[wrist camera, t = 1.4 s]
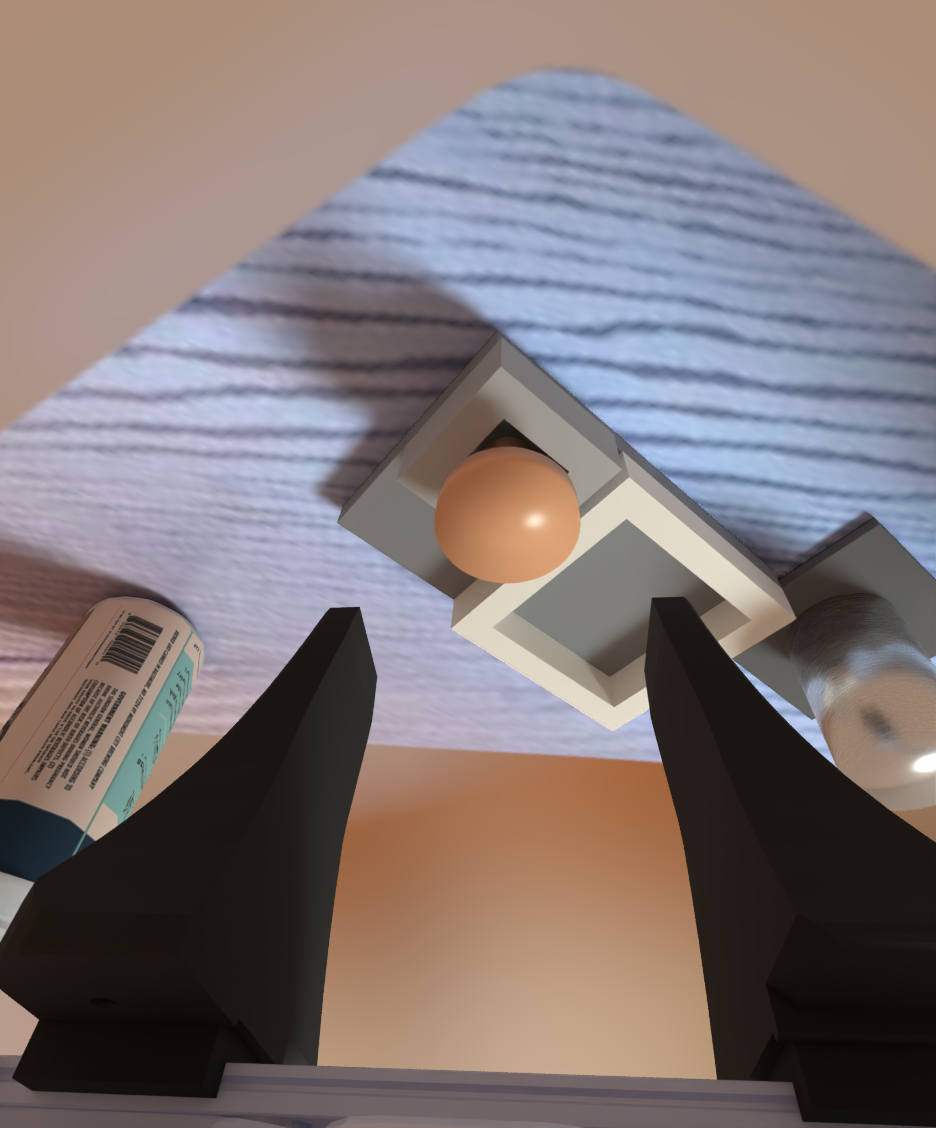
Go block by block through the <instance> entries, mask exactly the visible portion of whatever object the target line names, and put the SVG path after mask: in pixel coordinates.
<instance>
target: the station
mask: <svg viewBox="0 0 936 1128" xmlns="http://www.w3.org/2000/svg"><path fill="white" fill-rule="evenodd" d="M502 437H514V438H518V439H520V440H522V441H524V442H526V443H527V444H528V445H529V446H530V447H531V448H532V450H533V451H535V452H538V453H540V454H543V455H544V456H546V457H548V458H550V459H551V460H553V461H554V462H556V463H557V464H558V465H559V466H560V467H561V468H562V469H563V470H564V471H565V472H566V473H567V475H568V476H569V477H570V479H571V481H572V483H573V485H574V487H575V490H576V493H577V498H578V505H579V512H580V523H581V526H580V534H579V537H578V541H577V543H576V545H575V548H574V549H573V551H572V552H571V554H570V555H569V556H568V558H567V559H566V560H565V561H564V562H563V563H562V564H561V565H560V566H558V567H557V568H556V569H554V570H553V571H551V572H550V573H548V574H546V575H544V576H542V577H539V578H537V579H534V580H530V581H526V582H521V583H494V582H489V581H484V580H481V579H478V578H475V577H473V576H471V575H469V574H467V573H465V572H464V571H462V570H460V569H459V568H458V567H456V566H455V565H454V564H453V563H452V562H451V561H450V560H449V559H448V558H447V557H446V555H445V554H444V553H443V551H442V550H441V548H440V546H439V544H438V541H437V539H436V535H435V530H434V518H435V510H436V504H437V498H438V494H439V490H440V488H441V485H442V483H443V481H444V479H445V478H446V476H447V475H448V474H449V472H450V471H451V470H452V469H453V468H454V467H455V466H456V465H457V464H458V463H460V462H461V461H462V460H464V459H465V458H467V457H469V456H471V455H473V454H475V453H477V452H480V451H483V449H484V448H485V447H486V446H487V445H488V444H489V443H490V442H492V441H493V440H496V439H498V438H502ZM337 523H338V524H340V525H341V526H343V527H344V528H346V529H347V530H349V531H350V532H352V533H353V534H355V535H356V536H358V537H359V538H361V539H362V540H364V541H365V542H367V543H368V544H370V545H371V546H373V547H375V548H376V549H378V550H379V551H381V552H382V553H384V554H385V555H387V556H388V557H390V558H391V559H393V560H394V561H396V562H397V563H399V564H400V565H402V566H403V567H405V568H406V569H408V570H409V571H411V572H413V573H414V574H416V575H417V576H419V577H420V578H422V579H423V580H425V581H426V582H428V583H429V584H431V585H432V586H434V587H435V588H437V589H438V590H440V591H441V592H443V593H444V594H446V595H448V596H449V597H451V598H452V599H454V604H453V614H452V623H451V629H452V630H454V631H455V632H457V633H458V634H460V635H461V636H463V637H465V638H466V639H468V640H469V641H471V642H472V643H474V644H476V645H477V646H479V647H480V648H482V649H483V650H485V651H487V652H488V653H490V654H491V655H493V656H495V657H496V658H498V659H499V660H501V661H502V662H504V663H506V664H507V665H509V666H510V667H512V668H513V669H515V670H517V671H518V672H520V673H521V674H523V675H524V676H526V677H528V678H529V679H531V680H532V681H534V682H535V683H537V684H539V685H540V686H542V687H543V688H545V689H546V690H548V691H550V692H551V693H553V694H554V695H556V696H557V697H559V698H561V699H562V700H564V701H565V702H567V703H568V704H570V705H572V706H573V707H575V708H576V709H578V710H579V711H581V712H583V713H584V714H586V715H587V716H589V717H590V718H592V719H594V720H595V721H597V722H598V723H600V724H601V725H603V726H605V727H606V728H608V729H609V730H611V731H614V730H616V729H617V728H619V727H621V726H622V725H624V724H626V723H627V722H629V721H630V720H632V719H634V718H635V717H637V716H639V715H640V714H642V713H644V712H645V711H647V710H648V709H649V702H648V695H647V688H646V681H645V673H644V667H645V657H646V648H647V638H648V628H649V618H650V609H651V599H652V598H653V597H685V598H686V599H687V600H688V601H689V602H690V603H691V605H692V606H693V608H694V609H695V611H696V612H697V614H698V615H699V616H700V618H701V619H702V621H703V622H704V624H705V625H706V626H707V628H708V629H709V630H710V632H711V633H712V635H713V636H714V637H715V639H716V640H717V641H718V643H719V644H720V645H721V647H722V648H723V649H724V650H725V652H726V653H727V654H728V655H729V657H730V658H731V659H732V658H734V657H735V656H737V655H738V654H740V653H742V652H743V651H745V650H747V649H748V648H750V647H752V646H753V645H755V644H756V643H758V642H760V641H761V640H763V639H765V638H766V637H768V636H769V635H771V634H773V633H774V632H776V631H778V630H779V629H781V628H783V627H784V626H786V625H787V624H789V623H791V622H792V621H794V620H796V617H795V615H794V612H793V610H792V608H791V606H790V604H789V602H788V600H787V598H786V596H785V594H784V592H783V589H782V587H781V585H780V583H779V581H778V579H777V577H776V575H775V573H774V571H773V570H772V569H771V568H770V567H769V566H768V565H766V564H765V563H764V562H763V561H762V560H761V559H760V558H758V557H757V556H756V555H755V554H754V553H753V552H752V551H750V550H749V549H748V548H747V547H746V546H745V545H743V544H742V543H741V542H740V541H739V540H738V539H737V538H735V537H734V536H733V535H732V534H731V533H730V532H729V531H727V530H726V529H725V528H724V527H723V526H722V525H721V524H719V523H718V522H717V521H716V520H715V519H714V518H713V517H711V516H710V515H709V514H708V513H707V512H706V511H704V510H703V509H702V508H701V507H700V506H699V505H698V504H696V503H695V502H694V501H693V500H692V499H691V498H690V497H688V496H687V495H686V494H685V493H684V492H683V491H682V490H680V489H679V488H678V487H677V486H676V485H675V484H674V483H672V482H671V481H670V480H669V479H668V478H667V477H666V476H664V475H663V474H662V473H661V472H660V471H659V470H657V469H656V468H655V467H654V466H653V465H652V464H651V463H649V462H648V461H647V460H646V459H645V458H644V457H643V456H641V455H640V454H639V453H638V452H637V451H636V450H635V449H633V448H632V447H631V446H630V445H629V444H628V443H627V442H625V441H624V440H623V439H622V438H621V437H620V436H619V435H617V434H616V433H615V432H614V431H613V430H612V429H610V428H609V427H608V426H607V425H606V424H605V423H604V422H602V421H601V420H600V419H599V418H598V417H597V416H596V415H594V414H593V413H592V412H591V411H590V410H589V409H588V408H586V407H585V406H584V405H583V404H582V403H581V402H580V401H578V400H577V399H576V398H575V397H574V396H573V395H571V394H570V393H569V392H568V391H567V390H566V389H565V388H563V387H562V386H561V385H560V384H559V383H558V382H557V381H555V380H554V379H553V378H552V377H551V376H550V375H549V374H547V373H546V372H545V371H544V370H543V369H542V368H541V367H539V366H538V365H537V364H536V363H535V362H534V361H533V360H531V359H530V358H529V357H528V356H527V355H526V354H524V353H523V352H522V351H521V350H520V349H519V348H518V347H516V346H515V345H514V344H513V343H512V342H511V341H510V340H508V339H507V338H506V337H505V336H504V335H503V334H502V333H500V332H499V331H498V330H497V331H496V333H495V334H494V335H493V336H492V337H491V338H490V339H489V341H488V342H487V343H486V344H485V345H484V346H483V347H482V349H481V350H480V351H479V352H478V353H477V354H476V355H475V356H474V358H473V359H472V360H471V361H470V362H469V363H468V364H467V366H466V367H465V368H464V369H463V370H462V371H461V372H460V374H459V375H458V376H457V377H456V378H455V379H454V380H453V382H452V383H451V384H450V385H449V386H448V387H447V388H446V390H445V391H444V392H443V393H442V394H441V395H440V396H439V397H438V399H437V400H436V401H435V402H434V403H433V404H432V405H431V407H430V408H429V409H428V410H427V411H426V412H425V413H424V415H423V416H422V417H421V418H420V419H419V420H418V421H417V423H416V424H415V425H414V426H413V427H412V428H411V429H410V431H409V432H408V433H407V434H406V435H405V436H404V437H403V438H402V440H401V441H400V442H399V443H398V444H397V445H396V446H395V448H394V449H393V450H392V451H391V452H390V453H389V454H388V456H387V457H386V458H385V459H384V460H383V461H382V462H381V464H380V465H379V466H378V467H377V468H376V469H375V470H374V472H373V473H372V474H371V475H370V476H369V477H368V478H367V480H366V481H365V482H364V483H363V484H362V485H361V486H360V487H359V489H358V490H357V491H356V492H355V493H354V494H353V495H352V497H351V498H350V499H349V500H348V501H347V502H346V503H345V505H344V506H343V508H342V511H341V513H340V516H339V519H338V522H337Z"/></svg>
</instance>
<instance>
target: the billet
mask: <svg viewBox="0 0 936 1128" xmlns="http://www.w3.org/2000/svg"><path fill="white" fill-rule="evenodd" d="M785 649H786V652H787V654H788V656H789V659H790V661H791V663H792V665H793V668H794V670H795V672H796V675H797V677H798V679H799V681H800V684H801V686H802V688H803V691H804V693H805V695H806V697H807V700H808V702H809V704H810V707H811V709H812V711H813V713H814V716H815V718H816V720H817V723H818V725H819V727H820V729H821V732H822V734H823V736H824V739H825V741H826V743H827V745H828V748H829V750H830V752H831V755H832V757H833V759H834V761H835V764H836V766H837V768H838V769H839V770H840V771H841V772H842V773H843V774H844V775H846V776H847V777H848V778H849V779H851V780H852V781H853V782H854V783H856V784H857V785H858V786H860V787H861V788H862V789H863V790H865V791H866V792H867V793H869V794H870V795H871V796H872V797H874V798H875V799H876V800H877V801H879V802H880V803H881V804H883V805H884V806H885V807H886V808H888V809H889V810H894V811H895V810H896V811H900V810H914V809H920V808H925V807H930V806H934V805H936V667H935V666H934V664H933V663H932V661H931V660H930V658H929V656H928V655H927V653H926V652H925V650H924V649H923V647H922V646H921V644H920V643H919V641H918V640H917V638H916V637H915V635H914V634H913V632H912V631H911V629H910V628H909V626H908V625H907V623H906V622H905V620H904V619H903V617H902V616H901V614H900V613H899V611H898V610H897V608H896V607H895V606H894V605H893V604H892V603H891V602H890V601H888V600H886V599H885V598H882V597H880V596H877V595H872V594H866V593H851V594H843V595H838V596H834V597H831V598H828V599H825V600H823V601H820V602H818V603H816V604H814V605H813V606H811V607H809V608H808V609H806V610H805V611H803V612H802V613H801V614H800V615H799V616H798V617H797V618H796V620H794V621H793V622H792V624H791V625H790V627H789V628H788V630H787V633H786V635H785Z"/></svg>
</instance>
